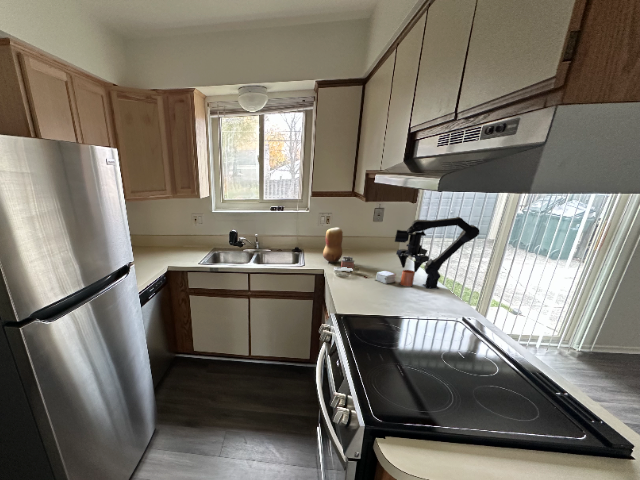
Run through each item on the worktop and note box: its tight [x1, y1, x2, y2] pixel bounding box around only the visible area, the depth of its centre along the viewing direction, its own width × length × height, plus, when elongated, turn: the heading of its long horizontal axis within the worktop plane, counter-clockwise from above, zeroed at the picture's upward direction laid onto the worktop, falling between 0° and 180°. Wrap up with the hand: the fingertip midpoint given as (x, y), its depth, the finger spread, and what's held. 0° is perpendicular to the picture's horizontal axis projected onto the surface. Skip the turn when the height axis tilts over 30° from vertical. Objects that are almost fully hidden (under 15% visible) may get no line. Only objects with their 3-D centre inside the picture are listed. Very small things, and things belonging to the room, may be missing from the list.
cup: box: [399, 269, 416, 287], centre depth 186 cm, size 6×6×8 cm
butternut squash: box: [322, 227, 344, 263], centre depth 228 cm, size 14×13×25 cm
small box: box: [375, 270, 397, 285], centre depth 192 cm, size 8×8×5 cm
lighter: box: [340, 255, 355, 270], centre depth 211 cm, size 8×3×10 cm, turn 74°
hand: (409, 269), depth 184 cm, fingers open, 9 cm apart
